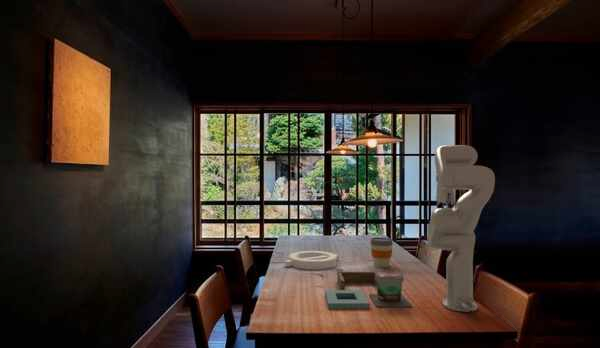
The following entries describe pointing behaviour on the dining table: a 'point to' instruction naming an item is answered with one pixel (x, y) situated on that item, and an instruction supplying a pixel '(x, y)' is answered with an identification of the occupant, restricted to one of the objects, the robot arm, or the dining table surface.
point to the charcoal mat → (379, 303)
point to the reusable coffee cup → (381, 251)
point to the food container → (389, 288)
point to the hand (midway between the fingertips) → (444, 215)
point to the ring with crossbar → (312, 260)
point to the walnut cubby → (355, 278)
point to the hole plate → (346, 299)
